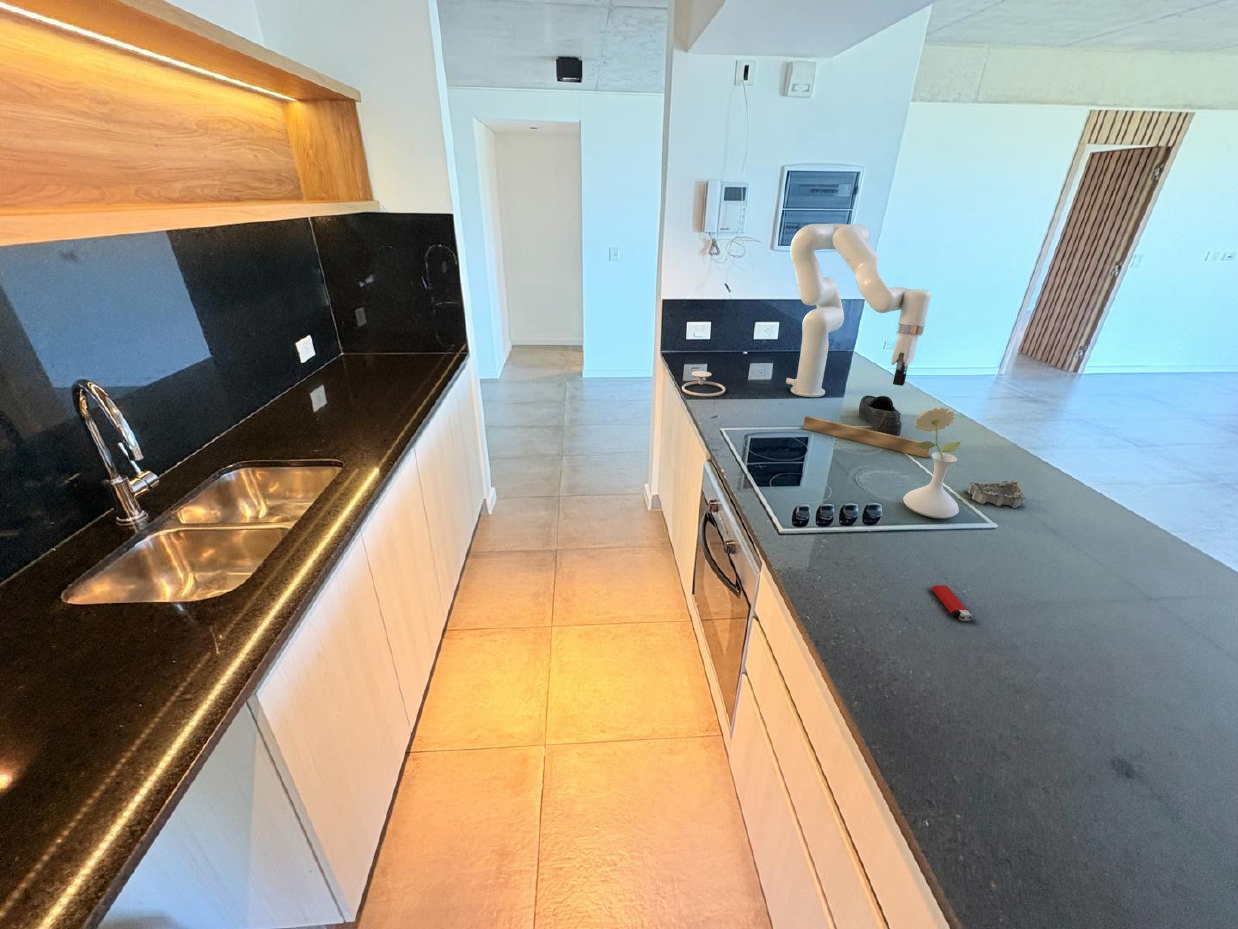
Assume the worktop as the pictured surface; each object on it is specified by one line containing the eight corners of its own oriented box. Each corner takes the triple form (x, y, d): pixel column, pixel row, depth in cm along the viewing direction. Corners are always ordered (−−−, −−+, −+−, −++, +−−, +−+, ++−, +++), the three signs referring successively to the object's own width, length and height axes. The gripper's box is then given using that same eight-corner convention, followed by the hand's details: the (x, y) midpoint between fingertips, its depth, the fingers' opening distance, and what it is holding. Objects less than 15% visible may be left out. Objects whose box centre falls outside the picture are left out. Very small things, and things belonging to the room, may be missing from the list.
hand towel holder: (684, 386, 197) (679, 371, 215) (683, 397, 199) (678, 381, 217) (729, 385, 197) (720, 370, 215) (728, 397, 199) (720, 381, 217)
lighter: (948, 585, 96) (973, 615, 89) (947, 590, 97) (971, 621, 90) (933, 585, 97) (956, 615, 89) (931, 590, 97) (954, 620, 90)
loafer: (879, 410, 185) (885, 382, 181) (912, 442, 159) (920, 410, 155) (848, 409, 186) (854, 381, 182) (876, 441, 160) (883, 409, 156)
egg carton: (1014, 496, 130) (1020, 481, 128) (1024, 510, 123) (1030, 495, 122) (965, 488, 133) (969, 474, 131) (971, 502, 127) (977, 487, 125)
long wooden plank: (803, 428, 170) (804, 416, 168) (804, 427, 171) (806, 415, 169) (926, 457, 150) (930, 444, 148) (927, 456, 151) (931, 443, 149)
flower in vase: (954, 504, 126) (985, 404, 115) (959, 527, 116) (994, 421, 106) (893, 493, 131) (918, 396, 120) (894, 515, 121) (920, 412, 111)
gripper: (903, 325, 178) (892, 378, 186) (891, 331, 167) (880, 387, 175) (928, 327, 174) (915, 381, 181) (917, 334, 163) (905, 391, 171)
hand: (898, 384), depth 178 cm, fingers closed
